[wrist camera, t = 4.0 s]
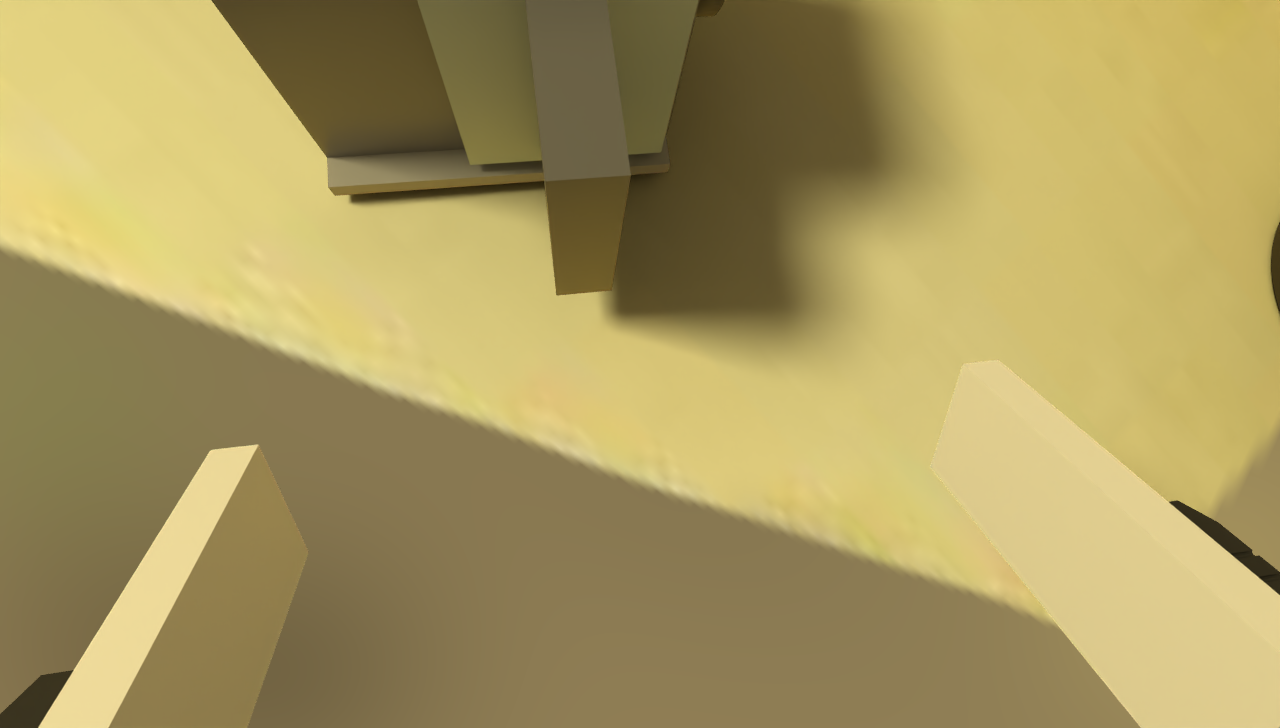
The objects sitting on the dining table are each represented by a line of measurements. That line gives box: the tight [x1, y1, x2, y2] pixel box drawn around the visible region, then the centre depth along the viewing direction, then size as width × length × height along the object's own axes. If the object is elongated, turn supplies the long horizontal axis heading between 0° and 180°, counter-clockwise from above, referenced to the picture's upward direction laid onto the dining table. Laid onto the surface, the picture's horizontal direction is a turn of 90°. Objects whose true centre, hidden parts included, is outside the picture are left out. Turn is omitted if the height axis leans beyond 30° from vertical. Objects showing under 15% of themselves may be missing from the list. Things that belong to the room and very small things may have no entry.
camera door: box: [417, 0, 698, 295], centre depth 23 cm, size 9×8×12 cm
